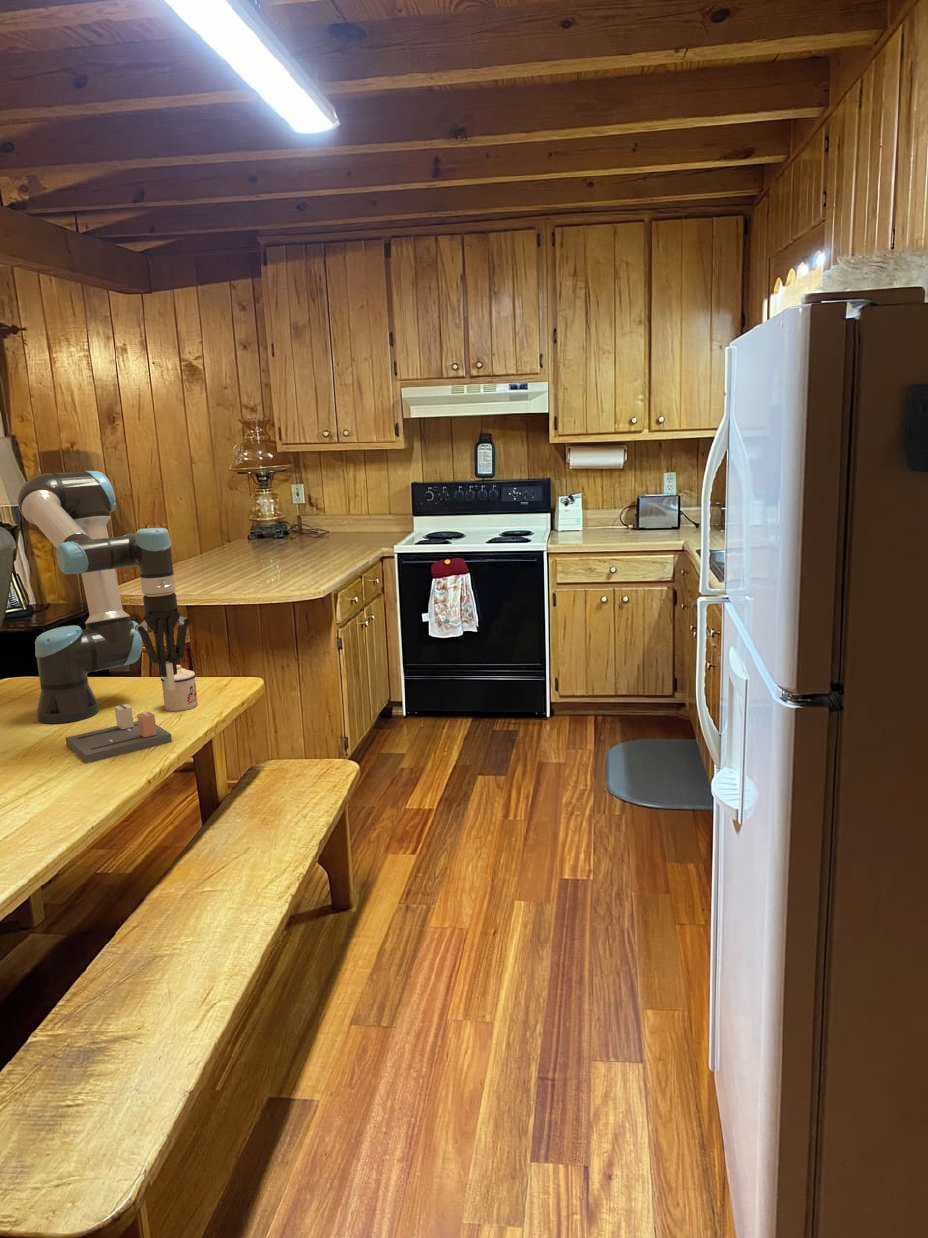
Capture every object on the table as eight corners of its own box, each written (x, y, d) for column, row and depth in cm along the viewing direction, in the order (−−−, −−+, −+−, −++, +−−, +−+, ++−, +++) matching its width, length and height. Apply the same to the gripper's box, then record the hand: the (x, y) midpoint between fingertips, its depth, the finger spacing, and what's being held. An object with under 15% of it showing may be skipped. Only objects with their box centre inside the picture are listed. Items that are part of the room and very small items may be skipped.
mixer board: (66, 745, 218) (65, 737, 218) (148, 726, 230) (147, 718, 230) (86, 763, 206) (85, 754, 205) (171, 741, 218) (170, 733, 218)
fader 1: (116, 726, 224) (114, 706, 223) (129, 723, 226) (126, 703, 225) (121, 729, 221) (119, 709, 220) (134, 726, 223) (131, 706, 222)
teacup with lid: (195, 710, 241) (191, 669, 239) (160, 713, 240) (156, 671, 238) (202, 697, 253) (198, 657, 251) (169, 699, 252) (165, 659, 250)
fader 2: (139, 733, 217) (136, 713, 216) (151, 731, 219) (149, 710, 218) (144, 737, 215) (142, 717, 214) (156, 734, 217) (154, 714, 215)
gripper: (137, 599, 207) (149, 697, 212) (191, 591, 215) (202, 686, 220) (126, 595, 213) (138, 691, 217) (179, 587, 220) (190, 680, 225)
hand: (170, 688), depth 218 cm, fingers closed
